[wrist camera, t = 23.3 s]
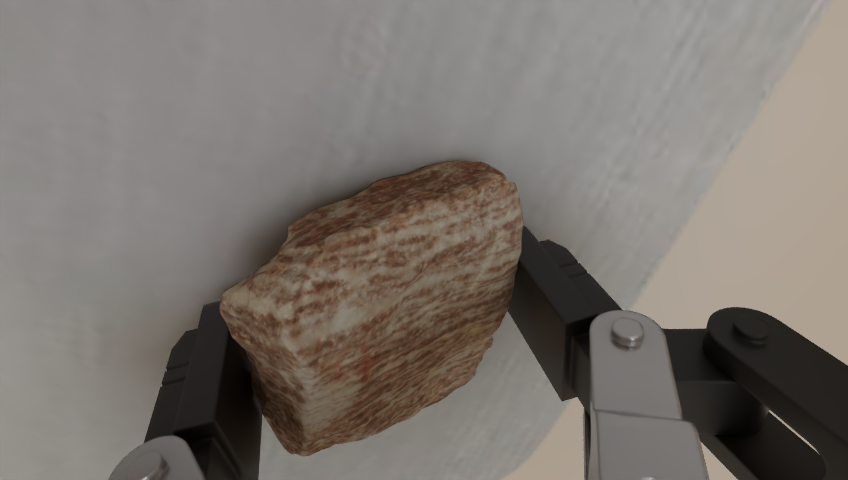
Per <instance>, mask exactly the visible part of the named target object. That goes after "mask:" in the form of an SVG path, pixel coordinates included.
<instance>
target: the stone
mask: <svg viewBox="0 0 848 480" xmlns="http://www.w3.org/2000/svg"><path fill="white" fill-rule="evenodd" d="M287 230H288V238H287V240H286V241H285V243H284V244H283V245H282V246H281V247H280V250H279V252H278V255H276V256H275V257H274V258H272V259H271V260H269V261H268V262H266V263H265V264H264V265H263V266H261V267H260V268H259V269H257V270H256V271H255V272H254V273H253V274H252V275H251V276H250V277H247V278H246V279H244V280H243V281H241V282H240V283H238V284H237V285H235V286H234V287H232V288H230V289H228V290H226V291H225V292H224V293H223V295H222V298H221V303H220V313H221V315H222V317H223V318H224V320H225V322H226V324H227V326H228V328H229V330H230V333H231V336H232V338H233V339H235V340H236V341H237V342H238V343H239V344H240V345H241V346H242V347H243V348H244V349H245V351H246V354H247V356H248V359H249V365H250V373H251V385H252V389H253V392H254V394H255V397H256V398H257V400H258V402H259V403H260V407H261V410H262V413H263V415H264V417H265V418H266V420H267V421H268V423H269V424H270V426H271V428H272V430H273V431H274V433H275V435H276V436H277V438H278V440H279V441H280V443H281V444H282V446H283V447H284V449H286V450H287V451H288V452H289V453H291V454H298V455H300V456H310V455H312V454H313V453H316V452H318V451H320V450H322V449H325V448H329V447H331V446H332V445H334V444H343V443H347V442H353V441H359V440H362V439H365V438H367V437H369V436H371V435H373V434H377V433H379V432H381V431H383V430H385V429H387V428H388V427H390V426H392V425H394V424H396V423H398V422H402V421H404V420H407V419H409V418H410V417H412V416H414V415H415V414H416V413H417V412H419V411H420V410H421V409H422V408H424V407H427V406H429V405H432V404H434V403H437V402H439V401H440V400H442V399H443V398H445V397H446V396H448V395H449V394H450V393H451V392H453V391H454V390H455V389H457V388H459V387H461V386H463V385H465V384H466V383H467V382H468V381H470V380H471V379H472V378H473V376H474V375H475V373H476V368H477V366H478V364H479V363H480V361H481V360H482V356H483V354H484V353H485V351H486V350H487V349H488V348H489V347H491V344H492V341H493V338H492V335H493V333H494V332H495V331H496V330H497V329H498V328H499V326H500V324H501V322H502V320H503V318H504V315H505V313H506V311H507V310H508V309H509V305H510V302H511V298H512V292H513V290H514V281H515V274H516V271H517V267H518V260H519V257H520V254H521V239H522V230H523V217H522V208H521V202H520V198H519V194H518V191H517V188H516V185H515V183H513V182H511V181H510V180H508V179H507V178H506V177H505V176H504V174H503V173H502V172H500V171H498V170H496V169H495V168H493V167H491V166H490V165H488V164H485V163H482V162H470V161H452V162H446V163H440V164H435V165H431V166H427V167H423V168H421V169H419V170H417V171H416V172H414V173H412V174H407V175H402V176H397V177H392V178H388V179H384V180H380V181H377V182H375V183H372V184H371V186H370V187H369V188H367V189H365V190H364V191H362V192H360V193H358V194H357V195H355V196H353V197H352V198H350V199H347V200H341V201H339V202H337V203H334V204H331V205H327V206H324V207H321V208H318V209H316V210H313V211H311V212H310V213H309V214H307V215H306V216H304V217H303V218H301V219H300V220H298V221H296V222H294V223H293V224H291V225H290V226H289V228H288V229H287Z"/></svg>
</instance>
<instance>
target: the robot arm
mask: <svg viewBox="0 0 848 480" xmlns="http://www.w3.org/2000/svg"><path fill="white" fill-rule="evenodd" d="M220 303H221V301H218V302H214V303H210V304H206V305H204V307H203V309H202V313H201V317H200V321H199V325H198V329H194V330H190V331H186V332H185V333H184V334H183V336H182V337H181V338H180V340H179V341H178V342H177V344H176V345H175V346H174V347H173V349H172V351H171V354H170V357H169V361H168V364H167V367H166V368H167V371H166V372H165V374H164V377H163V381H162V387H160V390H159V394H158V397H157V400H156V404H155V407H154V410H153V414H152V417H151V420H150V424H149V427H148V430H147V434H146V437H145V440H144V443H143V444H142V445H140V446H138V447H137V448H135V449H134V450H133V451H131V452H130V453H129V454H128V455H127V456H125V457H124V458H123V459H122V461H121V462H120V463H119V464H118V465H117V466H116V468H115V469H114V470H113V472H112V474H111V475H110V477H109V479H108V480H258V474H259V459H260V443H261V427H262V410H261V407H260V403H259V402H258V400H257V398H256V397H255V394H254V392H253V389H252V385H251V373H250V365H249V359H248V356H247V354H246V351H245V349H244V348H243V347H242V346H241V345H240V344H239V343H238V342H237V341H236V340H235V339H233V338H232V336H231V333H230V330H229V328H228V326H227V324H226V322H225V320H224V318H223V317H222V315H221V313H220ZM508 312H509V313H510V315H511V317H512V318H513V320H514V322H515V323H516V325H517V327H518V328H519V330H520V332H521V334H522V335H523V337H524V339H525V340H526V342H527V344H528V345H529V347H530V349H531V350H532V352H533V354H534V355H535V357H536V359H537V360H538V362H539V364H540V365H541V367H542V369H543V370H544V372H545V374H546V375H547V377H548V379H549V381H550V382H551V384H552V386H553V387H554V389H555V391H556V392H557V394H558V396H559V397H560V399H561V401H565V400H568V399H572V398H575V397H578V398H579V400H580V401H581V403H582V405H583V406H584V414H583V429H584V430H583V431H584V476H585V480H709V476H708V472H707V467H706V463H705V460H704V455H703V451H702V447H701V443H700V441H701V442H702V443H703V444H704V445H705V446H706V447H707V448H708V449H709V450H710V451H711V452H712V453H713V454H714V455H715V456H716V457H717V459H718V460H719V461H720V462H721V463H722V464H723V465H725V467H726V468H727V469H728V470H729V471H730V472H731V473H732V474H733V475H734V476H735V477H736V478H737V479H738V480H848V366H847V365H846V364H844V363H843V362H841V361H840V360H838V359H837V358H835V357H834V356H832V355H831V354H829V353H828V352H826V351H824V350H823V349H821V348H820V347H818V346H817V345H815V344H814V343H812V342H811V341H809V340H808V339H806V338H805V337H803V336H802V335H800V334H799V333H797V332H796V331H794V330H793V329H791V328H789V327H788V326H787V325H785V324H784V323H782V322H781V321H779V320H777V319H776V318H774V317H772V316H770V315H768V314H766V313H763V312H760V311H757V310H753V309H748V308H740V307H731V308H724V309H721V310H719V311H716V312H715V313H713V314H712V315H711V316H710V318H709V320H708V323H707V328H706V329H662V328H661V327H660V326H659V325H658V324H657V323H656V322H655V321H654V320H652V319H650V318H649V317H647V316H645V315H643V314H640V313H637V312H633V311H627V310H622V309H621V308H620V307H619V306H618V305H617V303H616V302H615V301H614V300H613V299H612V298H611V297H610V296H609V295H608V294H607V293H606V291H605V290H604V289H603V288H602V287H601V286H600V285H599V284H598V283H597V282H596V281H595V279H594V278H593V277H592V276H591V275H590V274H587V271H586V270H585V269H584V267H583V266H582V265H581V264H580V263H578V262H577V260H576V259H575V258H574V256H573V255H572V254H571V253H570V252H569V251H568V250H567V249H566V248H564V247H562V246H560V245H558V244H556V243H554V242H552V241H550V240H545V241H541V242H538V241H537V239H536V238H535V237H534V236H533V235H532V233H531V232H530V231H529V230H528V229H527V228H526V227H525V226H523V230H522V239H521V254H520V257H519V260H518V267H517V271H516V274H515V281H514V290H513V292H512V298H511V302H510V305H509V309H508ZM769 409H770V410H771V411H772V412H773V413H774V414H776V415H777V416H778V417H779V418H780V419H782V420H783V421H784V422H785V423H786V424H788V425H789V426H790V427H791V428H792V429H794V430H795V431H796V432H797V433H798V434H800V435H801V436H802V437H803V438H804V439H806V440H807V441H808V442H809V443H810V444H811V445H812V446H813V447H814V448H815V449H816V450H817V451H818V453H819V454H818V453H817V452H816V451H815V450H814V449H812V448H811V447H810V446H809V445H808V444H806V443H805V442H804V441H803V440H802V439H801V438H799V437H798V436H797V435H796V434H795V433H793V432H792V431H791V430H790V429H789V428H787V427H786V426H785V425H784V424H782V422H780V421H779V420H778V419H777V418H776V417H774V416H773V415H772V414H771V413H770V412H769Z"/></svg>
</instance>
